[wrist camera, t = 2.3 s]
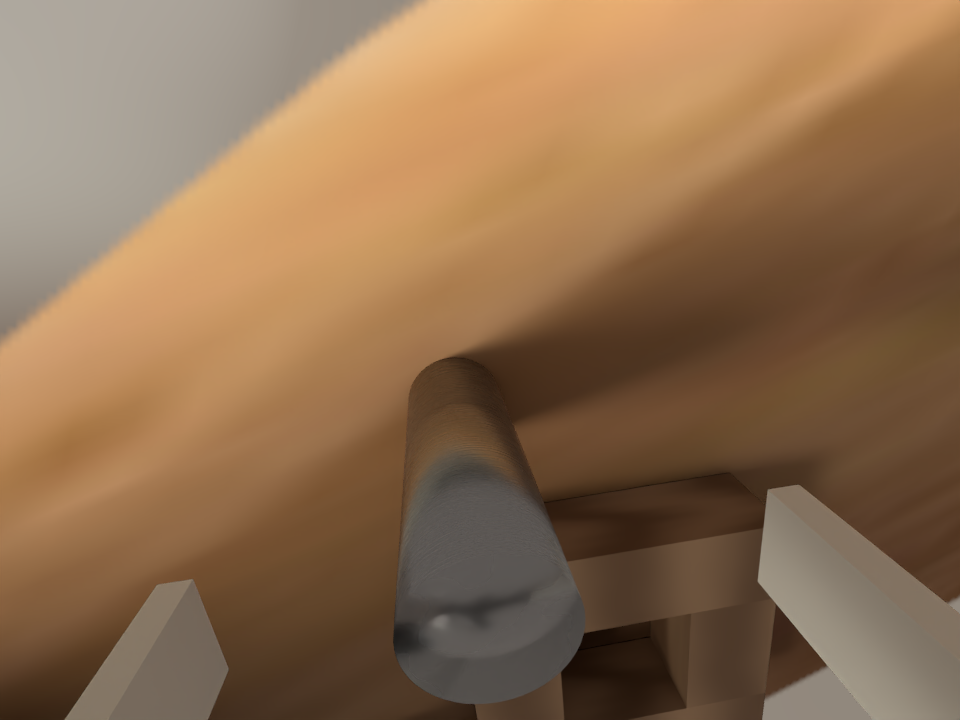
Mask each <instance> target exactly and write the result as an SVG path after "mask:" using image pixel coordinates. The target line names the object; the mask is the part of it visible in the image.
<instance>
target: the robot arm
mask: <svg viewBox="0 0 960 720" xmlns="http://www.w3.org/2000/svg"><path fill="white" fill-rule="evenodd" d="M758 583H759V584H760V585H761V586H762V587H763V589H764V590H765V591H766V592H767V593H768V595H769V596H770V597H771V598H772V599H773V601H774V602H775V603H776V604H777V605H778V607H779V608H780V609H781V610H782V611H783V613H784V614H785V615H786V616H787V617H788V619H789V620H790V621H791V622H792V623H793V625H794V626H795V627H796V628H797V629H798V631H799V632H800V633H801V634H802V635H803V637H804V638H805V639H806V640H807V641H808V643H809V644H810V645H811V646H812V647H813V649H814V650H815V651H816V652H817V653H818V655H819V656H820V657H821V658H822V660H823V661H824V662H825V663H826V664H827V666H828V667H829V668H830V669H831V670H832V672H833V673H834V674H835V675H836V676H837V677H838V679H839V680H840V681H841V682H842V684H843V685H844V686H845V687H846V688H847V690H848V691H849V692H850V693H851V694H852V696H853V697H854V698H855V699H856V700H857V702H858V703H859V704H860V705H861V706H862V708H863V709H864V710H865V711H866V712H867V714H868V715H869V716H870V717H871V718H872V719H873V720H960V614H959V613H958V612H957V611H956V610H954V609H953V608H952V607H951V606H949V605H948V604H947V603H946V602H944V601H943V600H942V599H941V598H939V597H938V596H937V595H936V594H934V593H933V592H932V591H931V590H929V589H928V588H927V587H926V586H924V585H923V584H922V583H921V582H919V581H918V580H917V579H916V578H915V577H913V576H912V575H911V574H910V573H908V572H907V571H906V570H905V569H903V568H902V567H901V566H900V565H898V564H897V563H896V562H895V561H893V560H892V559H891V558H890V557H888V556H887V555H886V554H885V553H883V552H882V551H881V550H880V549H878V548H877V547H876V546H875V545H874V544H872V543H871V542H870V541H869V540H867V539H866V538H865V537H864V536H862V535H861V534H860V533H859V532H857V531H856V530H855V529H854V528H852V527H851V526H850V525H849V524H847V523H846V522H845V521H844V520H842V519H841V518H840V517H839V516H837V515H836V514H835V513H834V512H832V511H831V510H830V509H829V508H828V507H826V506H825V505H824V504H823V503H821V502H820V501H819V500H818V499H816V498H815V497H814V496H813V495H811V494H810V493H809V492H808V491H806V490H805V489H804V488H803V487H801V486H800V485H793V486H787V487H780V488H774V489H768V491H767V500H766V510H765V519H764V528H763V537H762V546H761V555H760V564H759V573H758ZM228 670H229V669H228V666H227V663H226V661H225V658H224V656H223V653H222V651H221V648H220V646H219V643H218V641H217V638H216V636H215V633H214V631H213V628H212V626H211V623H210V621H209V618H208V616H207V613H206V610H205V608H204V605H203V603H202V600H201V598H200V595H199V593H198V590H197V588H196V585H195V583H194V580H193V579H190V580H184V581H178V582H171V583H165V584H158V585H157V586H156V587H155V589H154V590H153V591H152V593H151V594H150V596H149V597H148V599H147V600H146V602H145V603H144V605H143V606H142V607H141V609H140V610H139V612H138V613H137V615H136V616H135V618H134V619H133V621H132V622H131V624H130V625H129V626H128V628H127V629H126V631H125V632H124V634H123V635H122V637H121V638H120V640H119V641H118V642H117V644H116V645H115V647H114V648H113V650H112V651H111V653H110V654H109V656H108V657H107V659H106V660H105V661H104V663H103V664H102V666H101V667H100V669H99V670H98V672H97V673H96V675H95V676H94V677H93V679H92V680H91V682H90V683H89V685H88V686H87V688H86V689H85V691H84V692H83V693H82V695H81V696H80V698H79V699H78V701H77V702H76V704H75V705H74V707H73V708H72V710H71V711H70V712H69V714H68V715H67V717H66V718H65V720H208V718H209V716H210V714H211V711H212V709H213V706H214V704H215V702H216V699H217V697H218V694H219V692H220V690H221V687H222V685H223V682H224V680H225V678H226V675H227V673H228Z"/></svg>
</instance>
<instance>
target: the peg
mask: <svg viewBox="0 0 960 720" xmlns="http://www.w3.org/2000/svg"><path fill="white" fill-rule="evenodd" d="M584 630H585V610H584V605H583V602H582V599H581V596H580V594H579V591H578V589H577V586H576V584H575V581H574V578H573V576H572V573H571V571H570V568H569V566H568V563H567V561H566V558H565V556H564V553H563V550H562V548H561V545H560V543H559V540H558V538H557V535H556V533H555V530H554V528H553V525H552V522H551V520H550V517H549V515H548V512H547V510H546V507H545V505H544V502H543V500H542V497H541V494H540V492H539V489H538V487H537V484H536V482H535V479H534V477H533V474H532V472H531V469H530V466H529V464H528V461H527V459H526V456H525V454H524V451H523V449H522V446H521V443H520V441H519V438H518V436H517V433H516V431H515V428H514V426H513V423H512V421H511V418H510V415H509V413H508V410H507V408H506V405H505V403H504V400H503V398H502V395H501V393H500V390H499V387H498V385H497V383H496V381H495V379H494V377H493V376H492V374H491V373H490V372H489V371H488V370H487V369H486V368H485V367H483V366H482V365H480V364H479V363H477V362H474V361H472V360H469V359H464V358H447V359H443V360H440V361H437V362H435V363H433V364H431V365H429V366H428V367H426V368H425V369H424V370H423V371H421V373H420V374H419V375H418V376H417V377H416V379H415V380H414V382H413V384H412V386H411V389H410V393H409V402H408V418H407V433H406V449H405V464H404V480H403V495H402V511H401V526H400V542H399V557H398V573H397V589H396V604H395V620H394V637H393V643H394V651H395V654H396V657H397V660H398V662H399V664H400V666H401V668H402V670H403V671H404V672H405V674H406V675H407V676H408V678H409V679H410V680H412V681H413V682H414V683H415V684H416V685H417V686H419V687H420V688H421V689H423V690H424V691H426V692H428V693H430V694H432V695H434V696H436V697H439V698H442V699H445V700H449V701H452V702H458V703H464V704H490V703H497V702H502V701H506V700H511V699H514V698H517V697H520V696H523V695H525V694H527V693H530V692H532V691H534V690H536V689H538V688H539V687H541V686H543V685H545V684H546V683H547V682H549V681H550V680H552V679H553V678H554V677H555V676H557V675H558V674H559V673H560V672H561V671H562V670H563V669H564V668H565V667H566V666H567V665H568V663H569V662H570V661H571V659H572V658H573V657H574V655H575V654H576V652H577V650H578V648H579V646H580V644H581V641H582V638H583V635H584Z"/></svg>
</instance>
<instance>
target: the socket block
mask: <svg viewBox="0 0 960 720" xmlns="http://www.w3.org/2000/svg"><path fill="white" fill-rule="evenodd" d="M544 505H545V507H546V510H547V512H548V515H549V517H550V520H551V522H552V525H553V528H554V530H555V533H556V535H557V538H558V540H559V543H560V545H561V548H562V550H563V553H564V556H565V558H566V561H567V563H568V566H569V568H570V571H571V573H572V576H573V578H574V581H575V584H576V586H577V589H578V591H579V594H580V596H581V599H582V602H583V605H584V610H585V630H584V633H587V632H593V631H598V630H604V629H609V628H615V627H620V626H626V625H631V624H637V623H642V622H648V621H651V625H650V637H649V638H643V639H638V640H633V641H627V642H622V643H616V644H611V645H605V646H600V647H595V648H589V649H584V650H578V651H577V652H576V654H575V655H574V657H573V658H572V659H571V661H570V662H569V663H568V665H567V666H566V667H565V668H564V669H563V670H562V671H561V672H560V673H559V674H558V675H557V676H555V677H554V678H553V679H552V680H550V681H549V682H547V683H546V684H545V685H543V686H541V687H539V688H538V689H536V690H534V691H532V692H530V693H527V694H525V695H523V696H520V697H517V698H514V699H511V700H506V701H502V702H497V703H490V704H475V708H476V714H477V720H762V715H763V707H764V699H765V691H766V683H767V674H768V666H769V658H770V650H771V642H772V634H773V625H774V617H775V609H776V603H775V602H774V601H773V599H772V598H771V597H770V596H769V595H768V593H767V592H766V591H765V590H764V589H763V587H762V586H761V585H760V584H759V583H758V573H759V564H760V555H761V546H762V537H763V528H764V519H765V510H766V506H765V505H764V504H763V503H762V502H761V501H760V500H759V499H758V498H757V497H755V496H754V495H753V494H752V493H751V492H750V491H749V490H748V489H747V488H746V487H745V486H743V485H742V484H741V483H740V482H739V481H738V480H737V479H736V478H735V477H734V476H733V475H731V474H730V473H725V474H719V475H713V476H707V477H701V478H694V479H688V480H682V481H676V482H670V483H664V484H658V485H651V486H645V487H639V488H633V489H627V490H621V491H615V492H608V493H602V494H596V495H590V496H584V497H578V498H571V499H565V500H559V501H553V502H547V503H544Z"/></svg>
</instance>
